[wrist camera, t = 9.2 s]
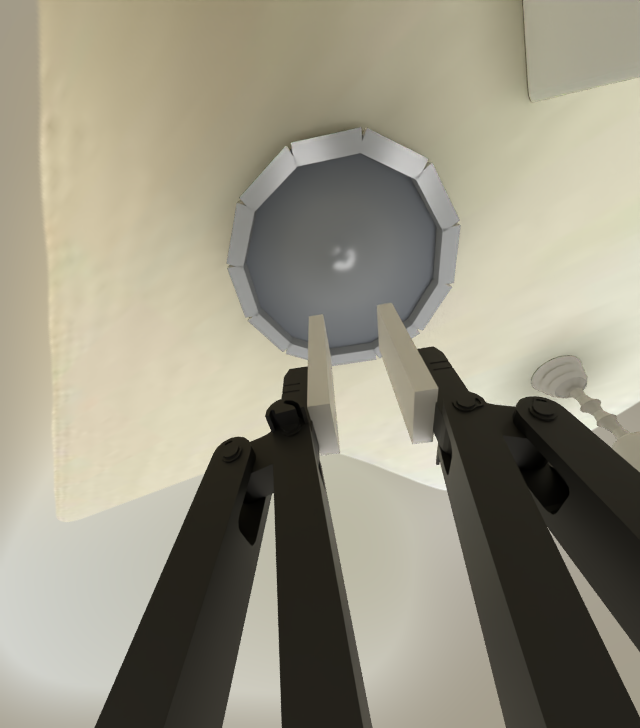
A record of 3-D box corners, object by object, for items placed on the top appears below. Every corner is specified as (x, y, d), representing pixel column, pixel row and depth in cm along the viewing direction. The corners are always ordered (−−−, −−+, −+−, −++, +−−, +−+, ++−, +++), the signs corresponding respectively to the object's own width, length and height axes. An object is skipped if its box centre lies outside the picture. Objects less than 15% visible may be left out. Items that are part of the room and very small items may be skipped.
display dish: (201, 163, 19) (189, 164, 17) (457, 107, 18) (475, 101, 16) (270, 361, 29) (267, 375, 27) (436, 335, 28) (445, 349, 26)
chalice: (581, 391, 33) (791, 578, 18) (518, 403, 34) (671, 589, 19) (600, 339, 28) (893, 531, 14) (528, 355, 29) (732, 549, 15)
